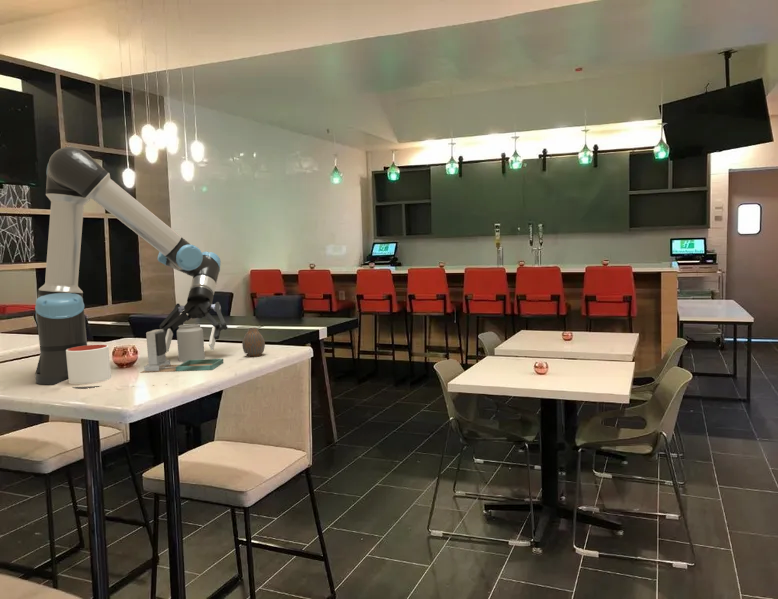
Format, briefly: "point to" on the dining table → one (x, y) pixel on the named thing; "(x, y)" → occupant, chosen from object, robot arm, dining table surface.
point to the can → (190, 342)
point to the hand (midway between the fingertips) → (188, 348)
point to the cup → (88, 365)
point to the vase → (253, 343)
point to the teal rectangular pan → (193, 365)
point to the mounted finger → (156, 351)
